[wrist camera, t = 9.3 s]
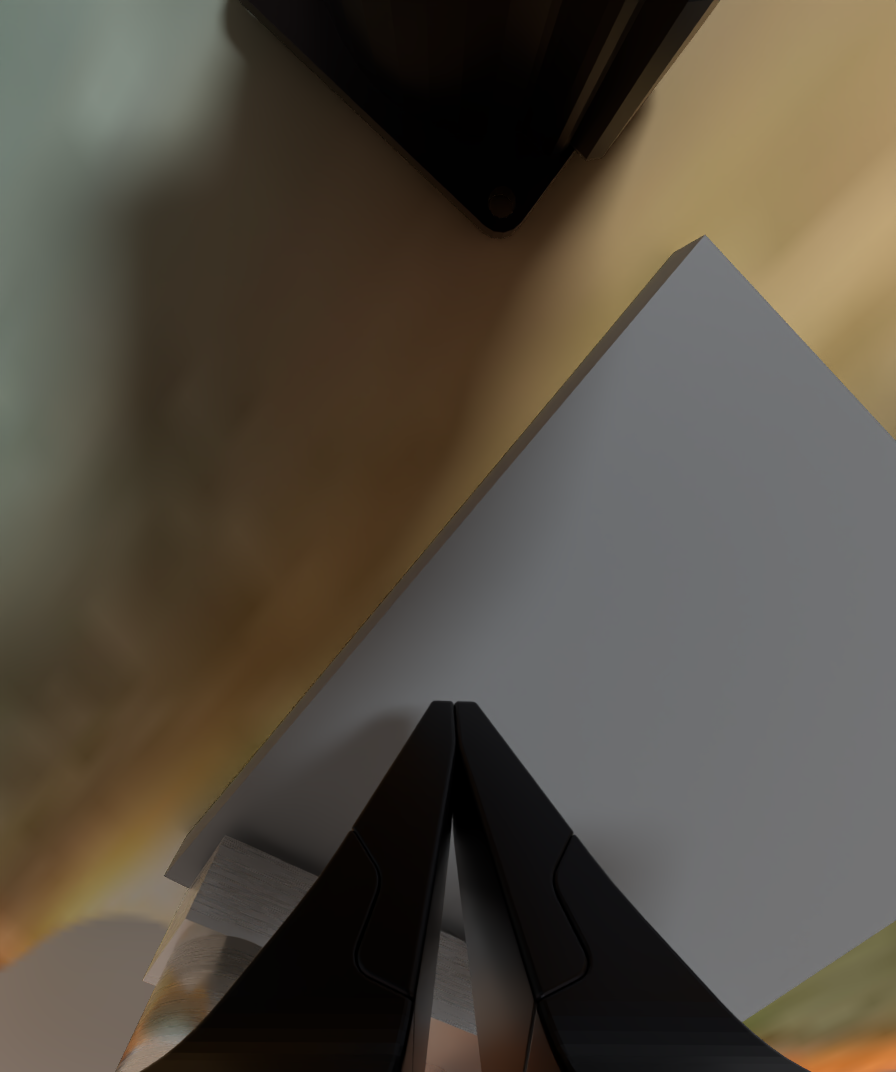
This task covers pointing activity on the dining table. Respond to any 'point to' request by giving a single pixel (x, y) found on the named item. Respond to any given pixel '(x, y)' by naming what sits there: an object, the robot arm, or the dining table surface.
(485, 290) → the dining table surface
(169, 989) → the swing arm
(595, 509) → the slate board
